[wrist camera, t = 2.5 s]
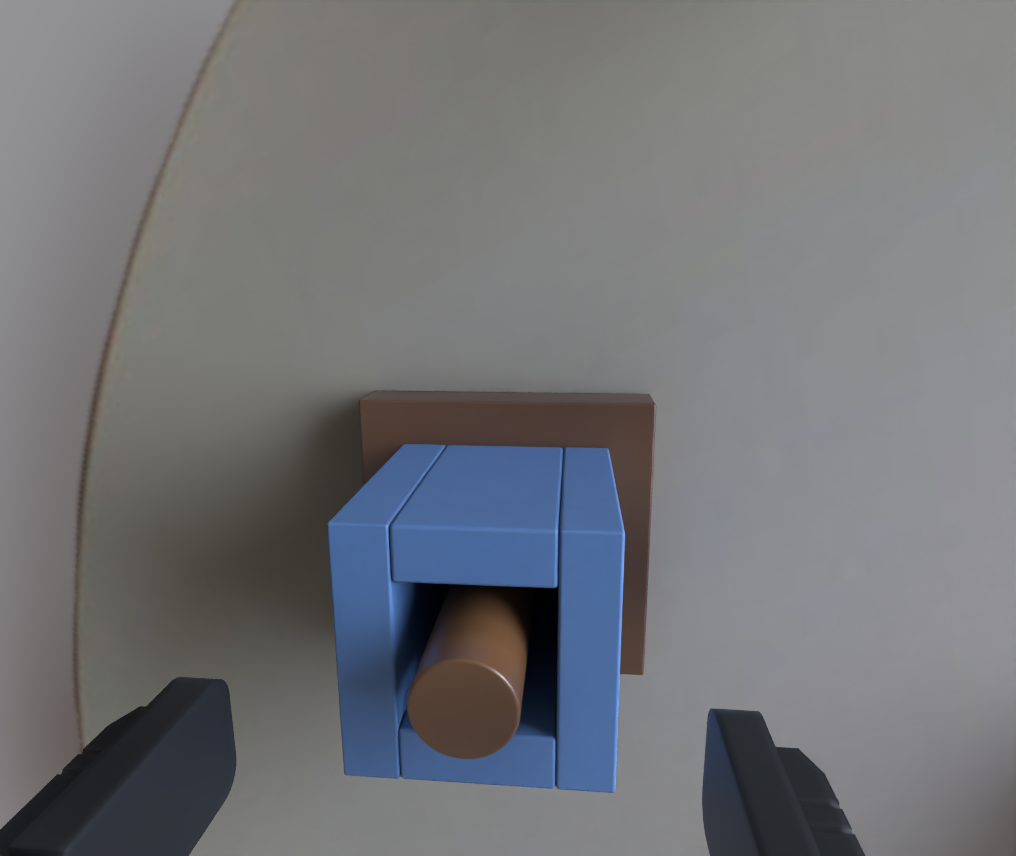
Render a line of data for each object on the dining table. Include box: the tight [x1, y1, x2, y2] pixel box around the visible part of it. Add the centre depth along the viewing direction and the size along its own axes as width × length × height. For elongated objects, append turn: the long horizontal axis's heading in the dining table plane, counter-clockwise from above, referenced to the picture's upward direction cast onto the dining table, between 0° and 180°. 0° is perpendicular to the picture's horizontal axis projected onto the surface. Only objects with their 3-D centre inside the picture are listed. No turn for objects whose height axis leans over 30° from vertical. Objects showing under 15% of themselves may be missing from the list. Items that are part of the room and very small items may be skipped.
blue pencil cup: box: [327, 444, 625, 793], centre depth 16 cm, size 6×6×6 cm
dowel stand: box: [359, 391, 656, 760], centre depth 16 cm, size 8×8×9 cm
